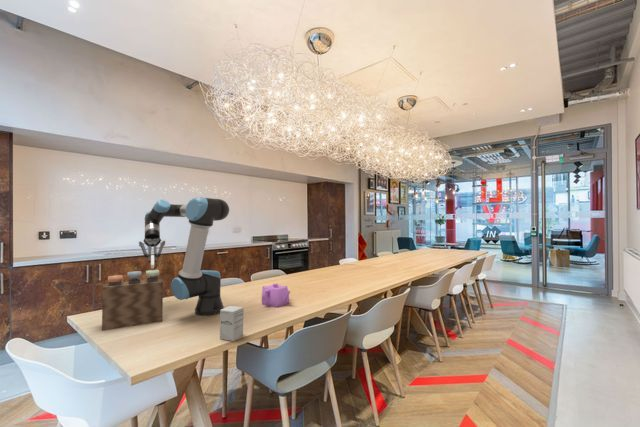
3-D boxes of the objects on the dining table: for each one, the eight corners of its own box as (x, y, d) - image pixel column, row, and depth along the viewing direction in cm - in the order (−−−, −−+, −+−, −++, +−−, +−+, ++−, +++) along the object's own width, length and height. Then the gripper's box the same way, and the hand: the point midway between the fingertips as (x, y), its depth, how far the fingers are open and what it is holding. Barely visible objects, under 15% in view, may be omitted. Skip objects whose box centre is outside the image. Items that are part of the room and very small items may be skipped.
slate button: (127, 281, 145) (127, 273, 146) (127, 279, 151) (127, 271, 151) (141, 280, 148) (141, 272, 149) (141, 278, 154) (141, 270, 154)
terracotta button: (107, 286, 141) (107, 277, 141) (108, 283, 146) (108, 275, 147) (122, 284, 144) (122, 276, 144) (122, 282, 149) (123, 274, 150)
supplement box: (219, 339, 127) (219, 309, 128) (230, 333, 134) (230, 305, 134) (233, 341, 124) (233, 311, 125) (243, 335, 131) (244, 306, 132)
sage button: (145, 279, 149) (146, 272, 150) (145, 277, 155) (145, 270, 155) (159, 278, 153) (159, 270, 153) (158, 276, 158) (159, 269, 158)
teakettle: (261, 301, 189) (261, 281, 190) (288, 299, 192) (288, 280, 193) (261, 308, 172) (261, 287, 173) (290, 307, 176) (290, 286, 176)
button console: (101, 330, 138) (102, 284, 139) (104, 324, 147) (105, 280, 147) (162, 321, 151) (162, 278, 152) (161, 315, 160) (161, 275, 160)
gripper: (164, 237, 174) (166, 269, 159) (138, 238, 168) (137, 271, 153) (165, 228, 170) (167, 261, 155) (138, 229, 163) (137, 262, 148)
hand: (152, 266), depth 154 cm, fingers closed
